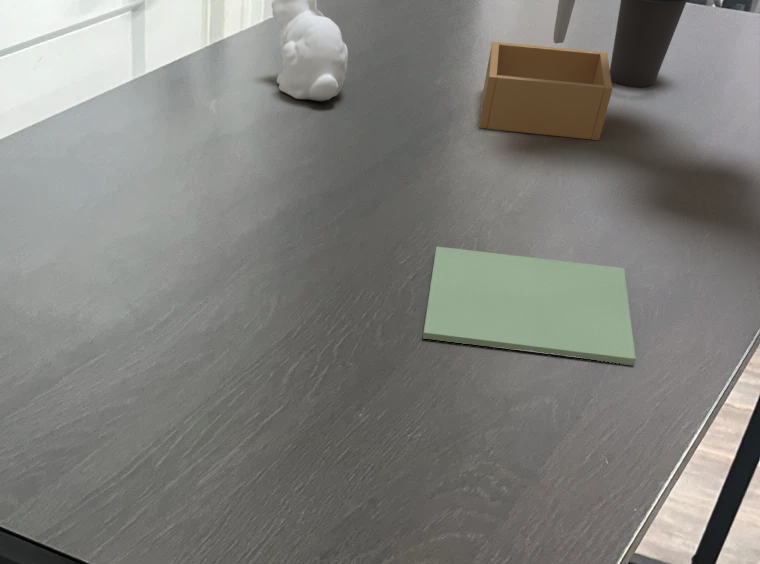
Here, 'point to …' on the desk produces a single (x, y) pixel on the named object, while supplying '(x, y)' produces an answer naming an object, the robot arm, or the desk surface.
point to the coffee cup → (643, 39)
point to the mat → (530, 305)
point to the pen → (562, 19)
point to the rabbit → (309, 51)
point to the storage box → (546, 91)
